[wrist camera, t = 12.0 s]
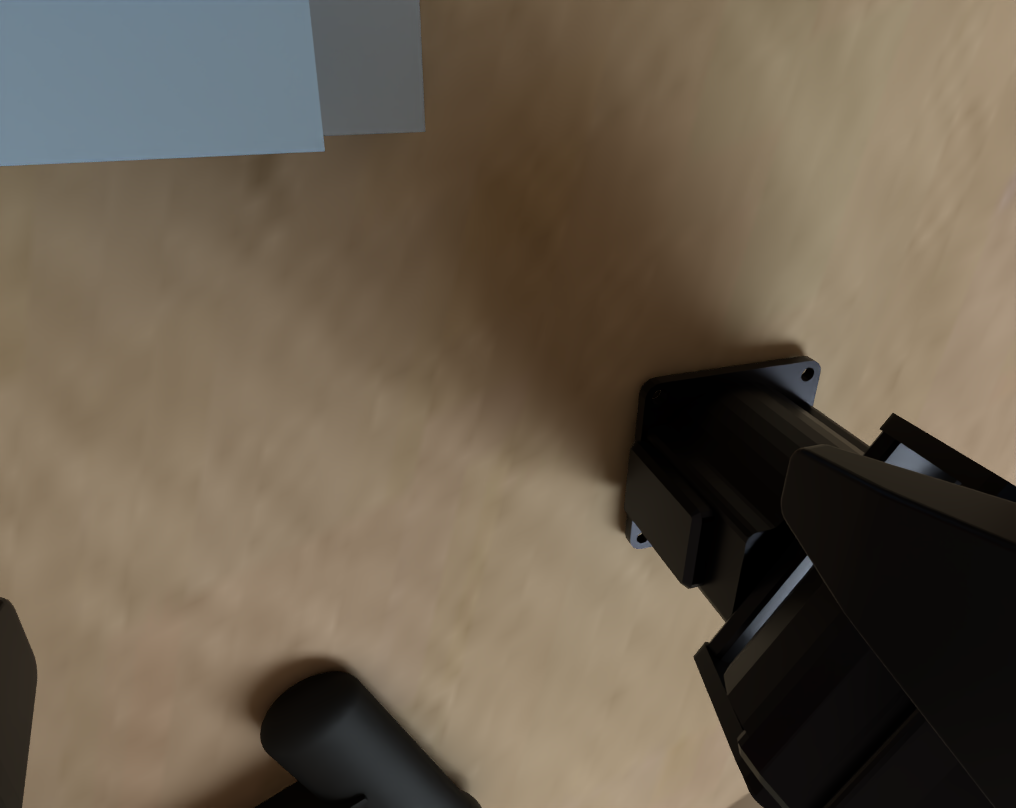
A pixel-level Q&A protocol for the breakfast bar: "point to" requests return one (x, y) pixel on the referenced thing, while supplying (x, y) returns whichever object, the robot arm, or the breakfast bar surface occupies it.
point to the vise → (203, 77)
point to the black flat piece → (349, 752)
